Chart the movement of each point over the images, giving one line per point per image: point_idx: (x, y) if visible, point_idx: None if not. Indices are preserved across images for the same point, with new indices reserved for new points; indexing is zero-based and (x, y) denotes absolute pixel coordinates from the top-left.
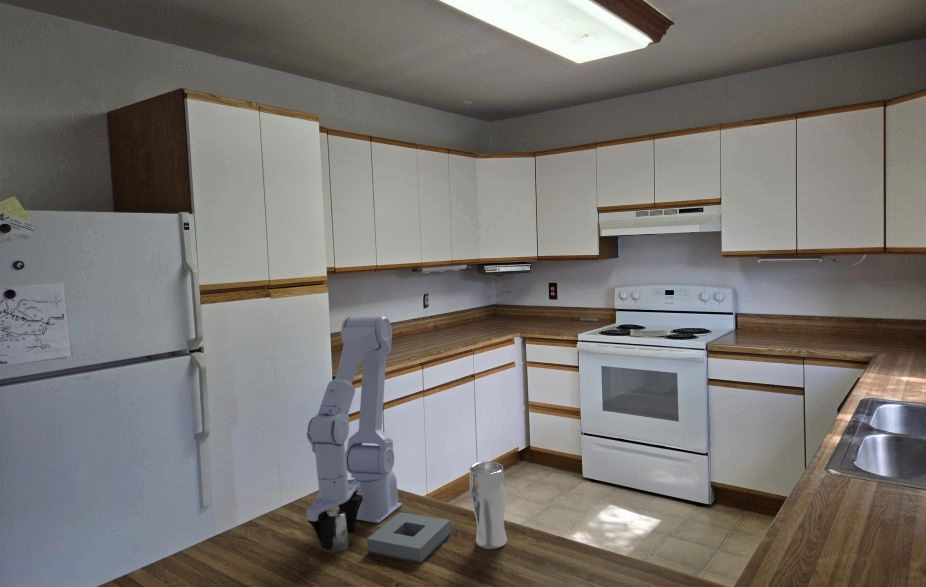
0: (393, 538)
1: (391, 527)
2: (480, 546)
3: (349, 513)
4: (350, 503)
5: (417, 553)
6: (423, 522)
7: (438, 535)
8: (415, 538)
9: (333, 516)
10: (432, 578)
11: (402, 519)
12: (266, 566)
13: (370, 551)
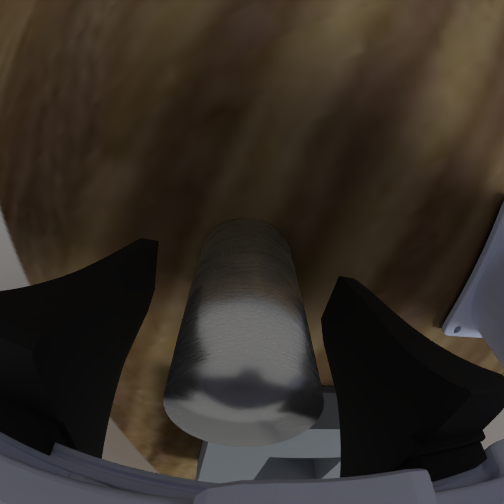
0: (233, 462)
1: (310, 447)
2: None
3: (356, 392)
4: (362, 464)
5: (196, 477)
6: (335, 477)
7: None
8: None
9: (196, 409)
10: (157, 468)
11: None
12: (38, 12)
13: None
